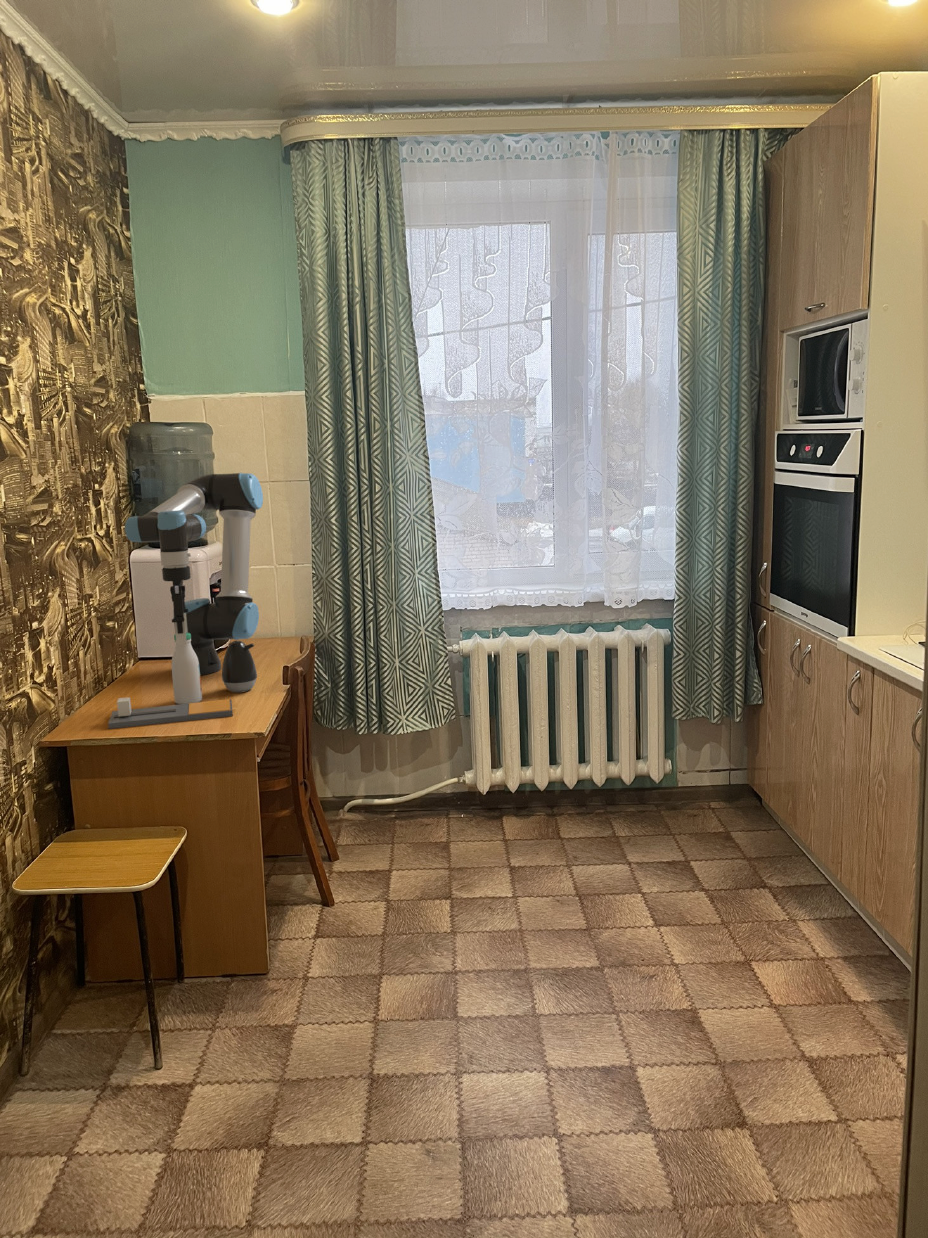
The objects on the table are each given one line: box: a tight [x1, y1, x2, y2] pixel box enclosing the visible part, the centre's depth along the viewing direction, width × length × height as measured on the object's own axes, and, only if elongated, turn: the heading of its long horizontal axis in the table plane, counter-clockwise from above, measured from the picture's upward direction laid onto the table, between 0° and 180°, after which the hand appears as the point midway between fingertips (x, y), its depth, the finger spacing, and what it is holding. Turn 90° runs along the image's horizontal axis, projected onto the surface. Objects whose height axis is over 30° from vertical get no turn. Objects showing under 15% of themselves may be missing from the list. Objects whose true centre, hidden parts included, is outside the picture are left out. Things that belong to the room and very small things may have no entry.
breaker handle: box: [116, 696, 132, 716], centre depth 262 cm, size 4×3×4 cm
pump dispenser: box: [221, 640, 258, 693], centre depth 289 cm, size 10×10×15 cm
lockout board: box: [107, 698, 234, 730], centre depth 266 cm, size 12×32×2 cm, turn 104°
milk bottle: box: [171, 633, 203, 705], centre depth 278 cm, size 8×8×20 cm
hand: (182, 640), depth 276 cm, fingers open, 13 cm apart
